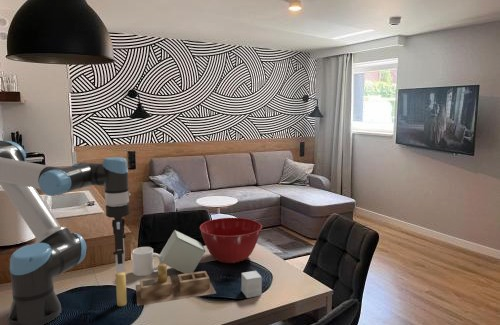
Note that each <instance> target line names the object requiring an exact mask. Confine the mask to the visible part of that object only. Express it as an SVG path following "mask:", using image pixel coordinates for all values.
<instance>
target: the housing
mask: <svg viewBox="0 0 500 325" xmlns="http://www.w3.org/2000/svg"><path fill="white" fill-rule="evenodd" d="M205 253H206V248H205V247H204V245H203V243H202V242H200V241H198V240H197V239H194V238H192V237H190V236H188V235H186V234H184V233H182V232H180V231H178V230H177V229H174V230H173V232H172V233H171V235H170V237H169V238H168V240H167V242H166V244H165V245H164V246H163V248H162V250H161V251H160V253H159V255H160V256H161V262H162V264H166V265H167V266H168V267H169V268H172V269H173V270H176V271H179V272H180V273H182V274H186V273H194V272H195V270H196V269H197V266H198V265H199V263H200V262H201V260H202V258H203V256H204V255H205Z"/></svg>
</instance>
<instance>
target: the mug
mask: <svg viewBox="0 0 500 325" xmlns="http://www.w3.org/2000/svg"><path fill="white" fill-rule="evenodd" d="M154 258H157V259H158V262H159V263H158V265H159V264H163V263H162V262H161V256H160V253H156V252H154V248H152V247H151V246H141V247H137V248H134V249H133V250H132V273H133V275H134V276H137V277H144V276H145V277H146V276H149V275H152V274H153V273H154V271H158V265H156V266H154V264H155V263H154Z"/></svg>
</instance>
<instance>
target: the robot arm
mask: <svg viewBox="0 0 500 325" xmlns="http://www.w3.org/2000/svg"><path fill="white" fill-rule="evenodd" d="M26 157H27V154H26V152H25V150H24V149H23V146H21V145H20V144H19V143H16V141H15V142H14V141H11V140H0V186H1V188H2V189H3V191H4V192H5V194H6V195H7V197H8V198H9V200H10V202H12V205H13V206H14V207H15V208H16V210H17V212H18V214H19V215H20V217H21V218H22V219H23V221H24V222H25V223H26V225H27V226H28V228H29V230H30V231H31V233H32V234H33V236H34V237H35V239H36V242H34V243H32V244H27V245H24V246H22V247H20V248H18V249H16V250H15V251H14V252H13V253H12V254H11V256H10V258H9V272H10V282H11V291H12V293H11V294H12V302H11V306H10V308H9V312H8V315H7V323H8V325H44V324H46V323H48V324H50V323H51V322H50V321H52V320H54V319H55V318H56V319H57V317H58V316H59V317H60V315H61V314H60V313H62V304H61V302H60V300H59V298H58V295H57V294H56V292H55V287H54V278H56V277H58V276H59V275H62V274H63V273H65V272H67V271H68V270H71V269H73V268H75V267H76V266H78V265H79V264H81V262H83V261H84V259H85V258H86V255H87V253H86V252H87V244H86V241H85V239H84V238H83V236H82V235H81V234H79V233H76V232H71V231H70V230H69V228H68V227H67V226H62V225H60V223H59V221H58V219H57V218H56V217H55V215H54V214H53V213H52V211H51V209H50V208H49V206H48V205H47V203H46V202H45V201H44V199H43V198H42V196H41V194H39V192H38V190H40V191H41V192H42V193H44V194H45V195H46V196H50V197H54V196H60V195H64V194H66V193H69V192H73V191H75V190H80V189H83V188H87V187H91V186H99V187H101V186H102V187H104V188H103V189H104V202H105V204H106V205H105V215H106V217H107V218H114V219H112V222H111V226H112V231H113V235H114V249H115V251H113V252H112V255H113V256H114V257H115V259H114V260H115V274H116V273H122V272H125V273H126V263H125V257H126V255H125V254H126V253H125V251H126V250H125V239H126V238H127V236H126V234H125V226H126V223H125V222H126V221H125V218H123V217H127V216H129V215H130V213H131V212H130V210H131V209H130V196H131V195H132V194H131V193H130V192H129V169H128V161H127V159H126V158H125V157H122V156H120V157H119V156H117V157H115V156H112V157H105V158H103V161H102V163H99V162H97V163H96V162H95V163H94V162H88V161H87V162H76V163H74V164H73V165H72V166H67V167H66V166H65V167H58V166H57V167H56V166H51V165H47V164H46V165H45V164H40V163H36V162H35V163H34V162H30V161H27V158H26ZM59 317H58V318H59ZM56 319H55V320H56ZM55 320H54V321H55ZM49 322H50V323H49ZM52 322H53V321H52ZM46 325H47V324H46Z"/></svg>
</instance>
